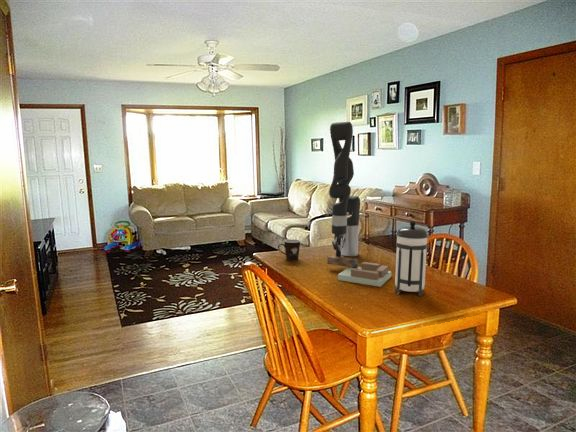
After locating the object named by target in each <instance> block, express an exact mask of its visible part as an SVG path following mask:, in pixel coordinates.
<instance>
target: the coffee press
mask: <svg viewBox="0 0 576 432" xmlns="http://www.w3.org/2000/svg"><path fill="white" fill-rule="evenodd" d="M409 225H410V226H409ZM409 225H408V226H401V227H400V228H399V229H397V231H396V233H395V235H396V244H395V247H396V253H395V254H396V255H395V256H396V257H395V274H394V275H395V276H394V277H395V278H394V279H395V281H394V285H395V286H394V287H396V288H395V290H394V294H396V295H399V294H401V292H402V291H403V292H409V293H412V292H413V293H414V292H415V293H417V295H418V296H419V297H423V296H424V294H425V293H424V291H423V290H424V289H425V286H426V285H425V284H426V283H425V282H426V269H427V252H428V251H427V250H428V238H429V233H428V231H427V230H426V229H425V228H423V227H419V226H416V222H415V221H414V220H412V221H410V222H409Z"/></svg>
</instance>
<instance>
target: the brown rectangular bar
mask: <svg viewBox="0 0 576 432" xmlns="http://www.w3.org/2000/svg"><path fill="white" fill-rule="evenodd" d="M326 264H327V265H331V266H332V265H333V266H340V267H346V268H348V267H352V268H357V267H359V259H358V258H350V257H342V256H341V257H336V255H329V256H327V263H326Z"/></svg>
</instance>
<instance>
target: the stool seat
mask: <svg viewBox="0 0 576 432" xmlns="http://www.w3.org/2000/svg"><path fill="white" fill-rule="evenodd" d="M391 277H392V271H391V270H389V265H385V264H383V265H381V264H380V263H376V262H375V263H373V262H367V261H363V262H361V265H360V266H358V267H357V268H352V267H346V268H345V269H344V270H343V271H341V272H340V273H337V281H343V282H348V283H349V282H350V283H355V284H361V285H366V286H373V287H383V285H384V284H385V283H386V282H387V281H388V280H390V278H391Z"/></svg>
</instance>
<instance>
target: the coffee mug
mask: <svg viewBox="0 0 576 432" xmlns="http://www.w3.org/2000/svg"><path fill="white" fill-rule="evenodd" d="M281 246H283V247H284V250H285V252H283V251H282V250H281V249H280V247H281ZM300 247H301V240H300V239H293V238H289V239H285V240H284V243H280V244H279V245H278V246H277V250H278V251H279V252H280V253H282V254H284V256H285V259H286V260H287V261H290V262H291V261H298V260H299V254H300Z"/></svg>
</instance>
